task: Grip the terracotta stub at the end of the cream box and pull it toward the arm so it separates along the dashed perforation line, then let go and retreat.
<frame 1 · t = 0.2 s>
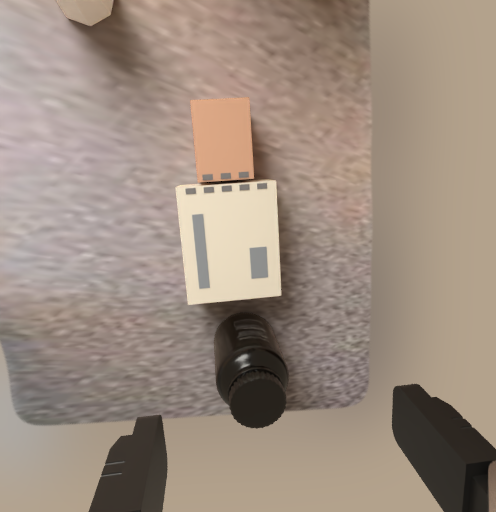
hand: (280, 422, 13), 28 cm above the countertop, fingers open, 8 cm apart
stub: (222, 142, 35), point 3 cm above the countertop, slide at 0.0 cm
supplement bottle: (243, 338, 43), on the countertop
cream box: (228, 235, 39), on the countertop
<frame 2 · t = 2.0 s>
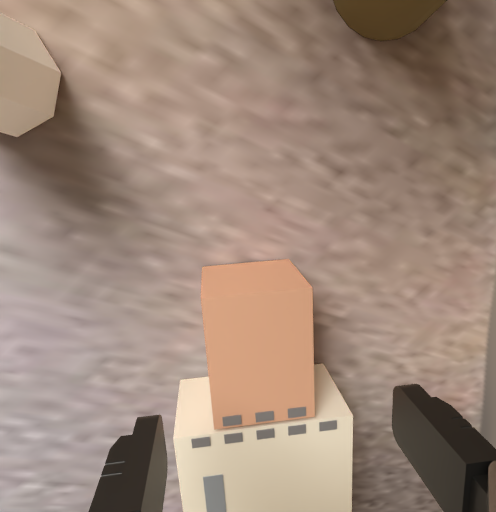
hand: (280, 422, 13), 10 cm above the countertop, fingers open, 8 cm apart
stub: (254, 337, 20), point 3 cm above the countertop, slide at 0.0 cm
salt shaker: (6, 79, 18), on the countertop
cream box: (257, 444, 25), on the countertop
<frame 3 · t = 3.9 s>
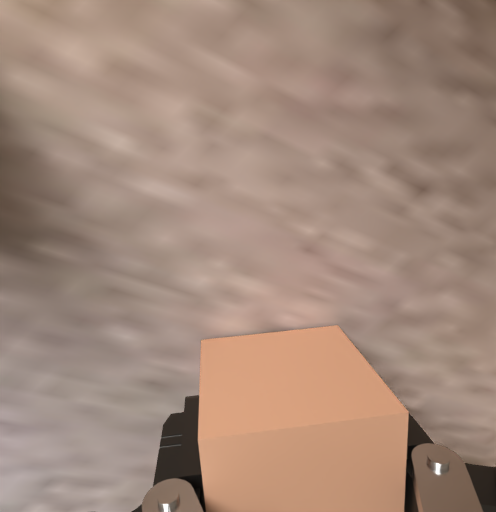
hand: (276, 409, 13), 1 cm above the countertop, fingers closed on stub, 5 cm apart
stub: (288, 465, 12), point 3 cm above the countertop, slide at 0.0 cm, touching gripper
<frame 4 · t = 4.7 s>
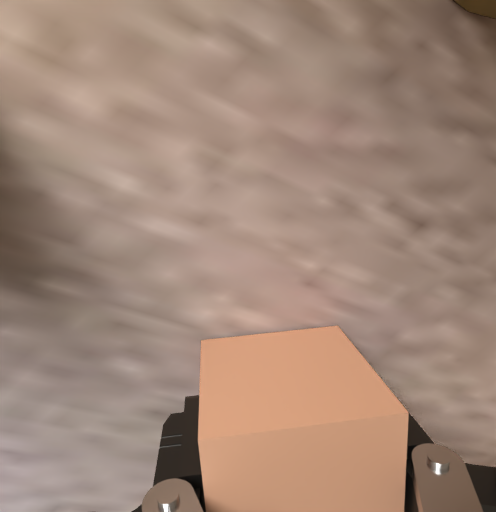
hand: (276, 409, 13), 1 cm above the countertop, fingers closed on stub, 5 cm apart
stub: (288, 465, 12), point 3 cm above the countertop, slide at 1.2 cm, touching gripper
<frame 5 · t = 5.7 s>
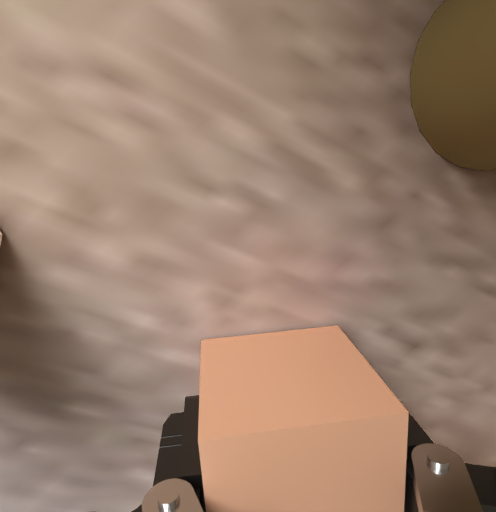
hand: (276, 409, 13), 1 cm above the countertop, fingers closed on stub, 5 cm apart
stub: (288, 465, 12), point 3 cm above the countertop, slide at 6.0 cm, touching gripper
brown pawn: (492, 78, 13), on the countertop
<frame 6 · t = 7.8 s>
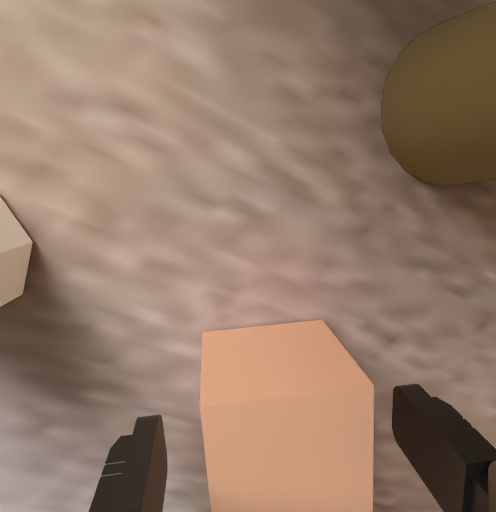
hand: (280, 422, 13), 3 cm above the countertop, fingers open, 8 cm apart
stub: (278, 439, 14), point 3 cm above the countertop, slide at 6.1 cm
brown pawn: (452, 107, 15), on the countertop
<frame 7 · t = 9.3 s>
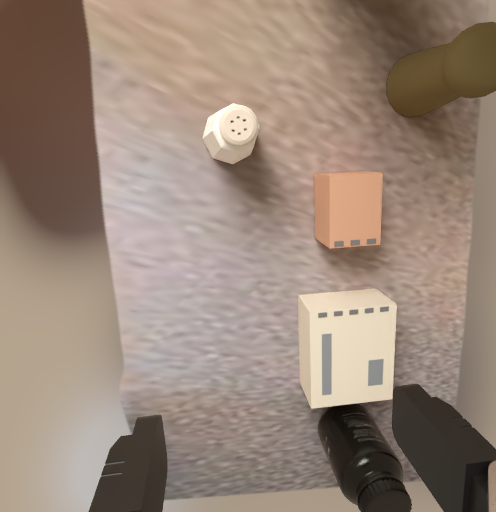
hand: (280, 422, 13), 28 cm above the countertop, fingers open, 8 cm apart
stub: (346, 208, 37), point 3 cm above the countertop, slide at 6.1 cm
brown pawn: (413, 86, 38), on the countertop
supplement bottle: (342, 422, 47), on the countertop
salt shaker: (229, 136, 37), on the countertop
cream box: (336, 336, 44), on the countertop
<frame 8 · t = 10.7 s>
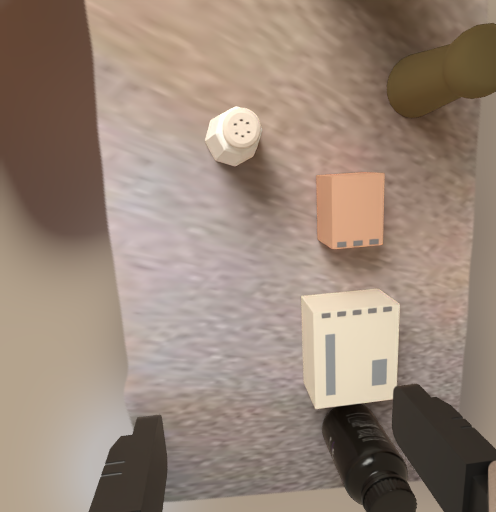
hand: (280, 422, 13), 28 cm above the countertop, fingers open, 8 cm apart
stub: (348, 208, 38), point 3 cm above the countertop, slide at 6.1 cm
brown pawn: (414, 87, 38), on the countertop
supplement bottle: (346, 423, 47), on the countertop
salt shaker: (231, 138, 37), on the countertop
cream box: (340, 336, 44), on the countertop
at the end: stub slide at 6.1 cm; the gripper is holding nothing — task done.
